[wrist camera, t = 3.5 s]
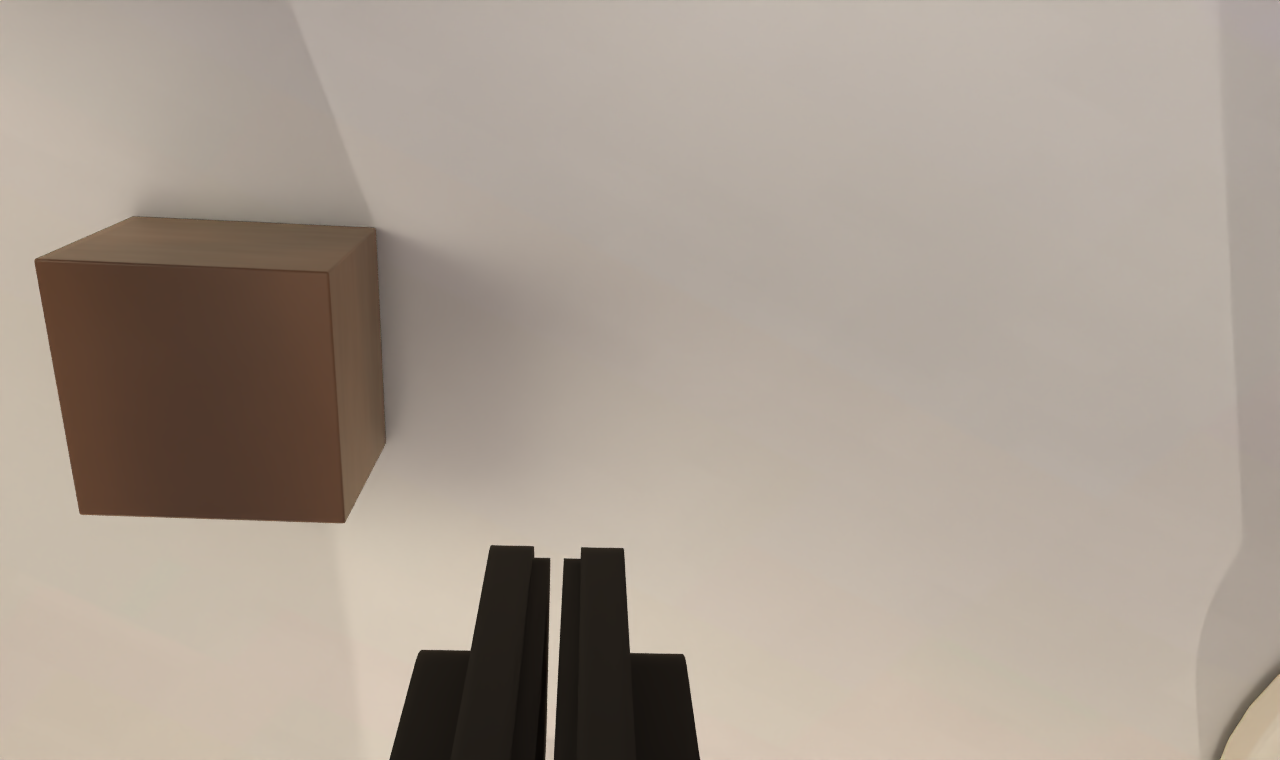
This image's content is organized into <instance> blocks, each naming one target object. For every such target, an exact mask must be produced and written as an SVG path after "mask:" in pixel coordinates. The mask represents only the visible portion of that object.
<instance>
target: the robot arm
mask: <svg viewBox="0 0 1280 760" xmlns="http://www.w3.org/2000/svg"><path fill="white" fill-rule="evenodd" d="M549 600H550V558H534V546H498V545H491V546H490V550H489V555H488V560H487V566H486V571H485V576H484V582H483V587H482V592H481V598H480V603H479V609H478V614H477V619H476V625H475V630H474V635H473V641H472V646H471V651H454V650H421V651H420V652H419V653H418V656H417V659H416V662H415V666H414V669H413V673H412V677H411V681H410V684H409V688H408V692H407V696H406V699H405V703H404V707H403V711H402V714H401V718H400V722H399V726H398V730H397V733H396V737H395V741H394V745H393V748H392V752H391V756H390V760H545V753H546V727H547V685H548V642H549ZM554 760H700V757H699V750H698V743H697V736H696V729H695V721H694V714H693V707H692V700H691V693H690V686H689V679H688V672H687V665H686V660H685V657H684V655H683V654H649V653H630V646H629V628H628V611H627V594H626V577H625V559H624V549H623V548H588V547H581V559H566V558H564V568H563V588H562V608H561V628H560V648H559V668H558V688H557V708H556V728H555V748H554ZM1220 760H1280V674H1279V675H1278V676H1277V677H1276V678H1275V679H1274V680H1273V681H1272V682H1271V683H1270V684H1269V685H1268V687H1267V688H1266V689H1265V690H1264V691H1263V692H1262V693H1261V694H1260V695H1259V696H1258V698H1257V699H1256V700H1255V701H1254V702H1253V703H1252V704H1251V705H1250V707H1249V708H1248V710H1247V711H1246V713H1245V714H1244V716H1243V717H1242V719H1241V720H1240V722H1239V723H1238V725H1237V727H1236V728H1235V730H1234V731H1233V733H1232V734H1231V736H1230V737H1229V739H1228V742H1227V744H1226V747H1225V749H1224V752H1223V754H1222V757H1221V759H1220Z"/></svg>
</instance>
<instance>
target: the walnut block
mask: <svg viewBox="0 0 1280 760" xmlns="http://www.w3.org/2000/svg"><path fill="white" fill-rule="evenodd" d="M35 267H36V273H37V278H38V284H39V289H40V295H41V300H42V306H43V312H44V317H45V323H46V328H47V334H48V339H49V345H50V351H51V356H52V362H53V367H54V373H55V379H56V384H57V390H58V395H59V401H60V406H61V412H62V418H63V423H64V429H65V434H66V440H67V446H68V451H69V457H70V462H71V468H72V473H73V479H74V485H75V490H76V496H77V501H78V507H79V512H80V514H81V515H105V516H135V517H166V518H196V519H227V520H257V521H288V522H318V523H345V521H346V519H347V518H348V516H349V514H350V512H351V510H352V508H353V506H354V504H355V502H356V500H357V498H358V496H359V494H360V492H361V490H362V489H363V487H364V485H365V483H366V481H367V479H368V477H369V475H370V473H371V471H372V469H373V467H374V465H375V463H376V461H377V459H378V458H379V456H380V454H381V452H382V450H383V448H384V446H385V444H386V435H385V414H384V392H383V370H382V349H381V327H380V305H379V283H378V262H377V240H376V229H375V228H368V227H346V226H325V225H304V224H283V223H262V222H241V221H219V220H198V219H177V218H156V217H135V216H133V217H131V218H128V219H126V220H124V221H121V222H119V223H117V224H115V225H112V226H110V227H108V228H105V229H103V230H101V231H98V232H96V233H94V234H92V235H89V236H87V237H85V238H82V239H80V240H78V241H75V242H73V243H71V244H69V245H66V246H64V247H62V248H59V249H57V250H55V251H52V252H50V253H48V254H46V255H43V256H41V257H39V258H36V259H35Z"/></svg>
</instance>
